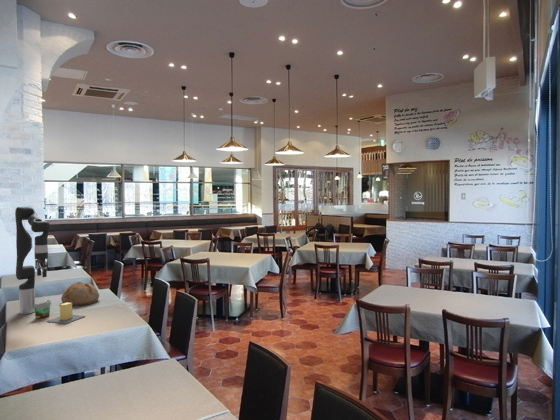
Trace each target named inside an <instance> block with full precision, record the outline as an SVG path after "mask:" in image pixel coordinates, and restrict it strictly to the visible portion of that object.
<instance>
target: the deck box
mask: <svg viewBox="0 0 560 420" xmlns="http://www.w3.org/2000/svg"><path fill="white" fill-rule="evenodd" d="M72 315H73V305H72V303H68V302H66V303H63V302H62V303H61V304H60V303H59V317H60V320H67V319H70V318H72Z"/></svg>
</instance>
